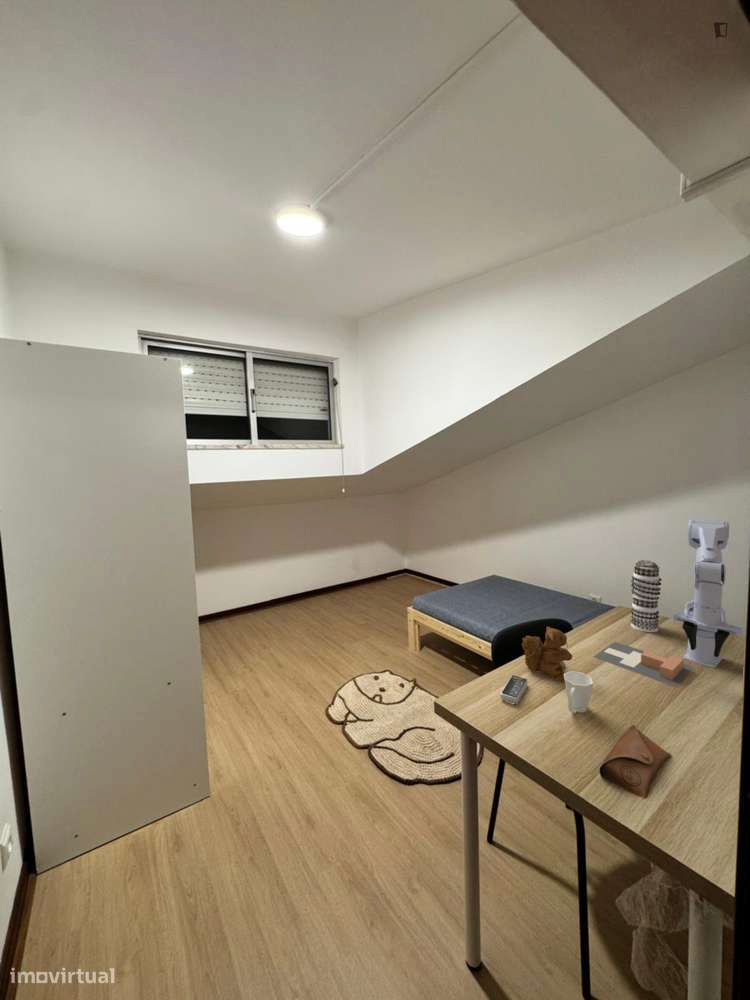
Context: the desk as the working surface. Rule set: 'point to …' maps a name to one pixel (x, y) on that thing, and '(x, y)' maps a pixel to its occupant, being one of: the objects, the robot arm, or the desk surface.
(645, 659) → the t block
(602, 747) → the desk surface
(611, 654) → the mat
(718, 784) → the desk surface
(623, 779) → the sunglasses case
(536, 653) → the stuffed squirrel
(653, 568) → the white patterned cylinder
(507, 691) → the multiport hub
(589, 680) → the cup
